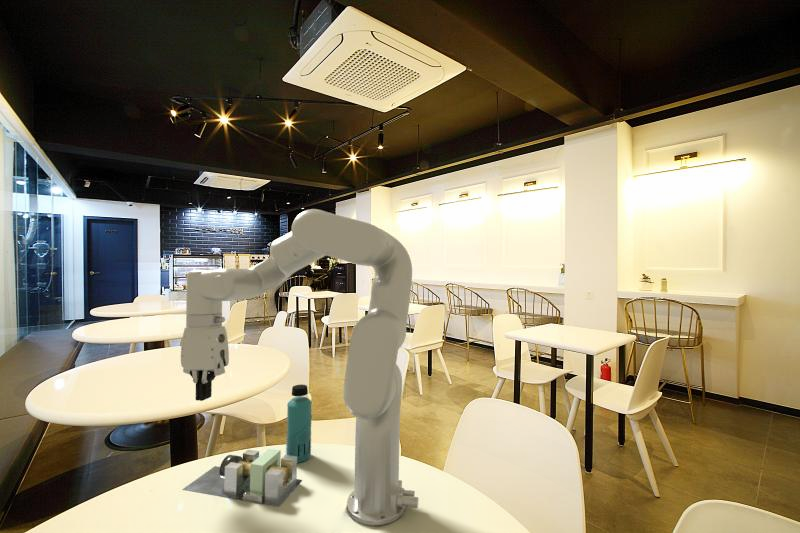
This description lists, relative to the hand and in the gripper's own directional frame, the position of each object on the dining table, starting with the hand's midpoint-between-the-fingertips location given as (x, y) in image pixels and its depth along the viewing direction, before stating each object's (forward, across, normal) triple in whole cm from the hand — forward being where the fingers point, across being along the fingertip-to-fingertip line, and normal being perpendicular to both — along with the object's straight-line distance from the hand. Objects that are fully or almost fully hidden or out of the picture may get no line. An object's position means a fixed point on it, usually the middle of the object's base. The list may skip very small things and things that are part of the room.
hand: (203, 398), depth 84 cm
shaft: (+18, -14, 0) cm, 23 cm away
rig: (+20, -12, 0) cm, 23 cm away
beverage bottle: (+20, -17, -14) cm, 30 cm away
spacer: (+19, -17, 0) cm, 25 cm away
